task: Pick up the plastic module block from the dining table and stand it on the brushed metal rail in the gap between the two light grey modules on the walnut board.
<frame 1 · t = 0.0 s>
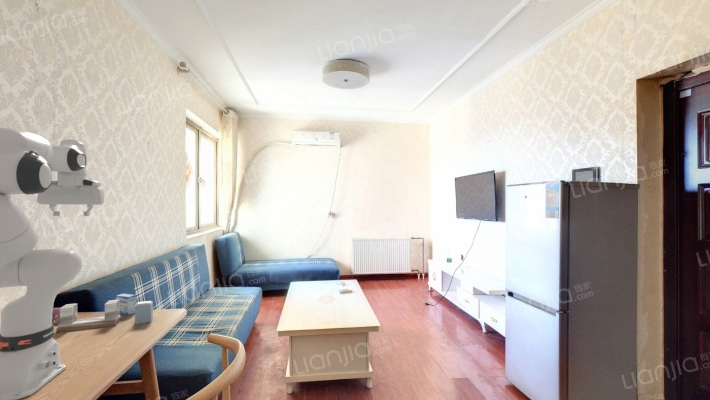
hand: (71, 215, 125), 48 cm above the table, tool pointing down, fingers open, 8 cm apart
video game controller: (53, 322, 138), on the table
medicine box: (126, 313, 151), on the table
module block: (143, 321, 141), on the table
rail mount: (90, 325, 136), on the table
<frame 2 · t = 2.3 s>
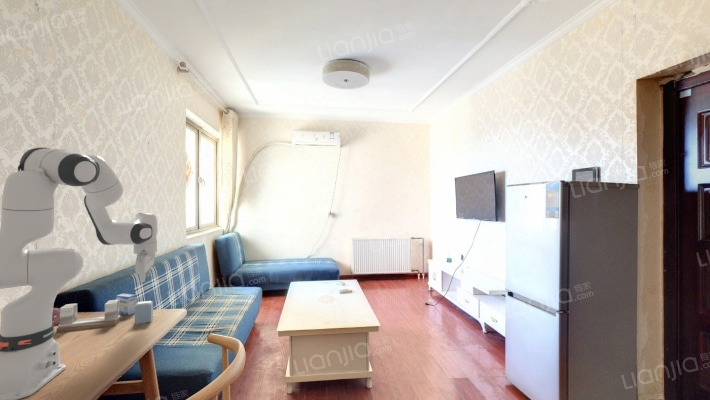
hand: (144, 279, 141), 19 cm above the table, tool pointing down, fingers open, 8 cm apart
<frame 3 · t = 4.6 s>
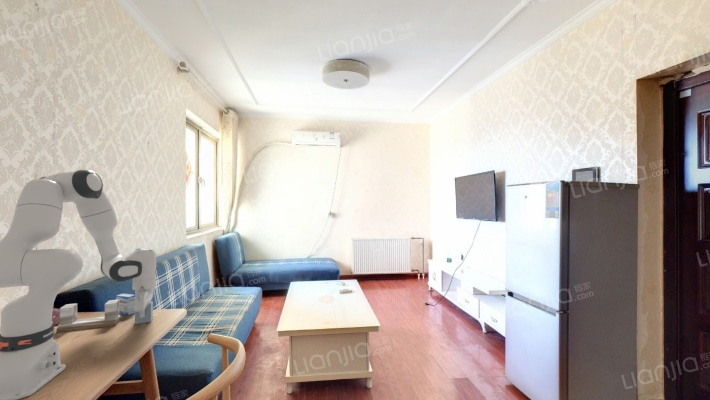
hand: (143, 314, 141), 3 cm above the table, tool pointing down, fingers closed on module block, 4 cm apart
module block: (143, 321, 141), on the table, touching gripper
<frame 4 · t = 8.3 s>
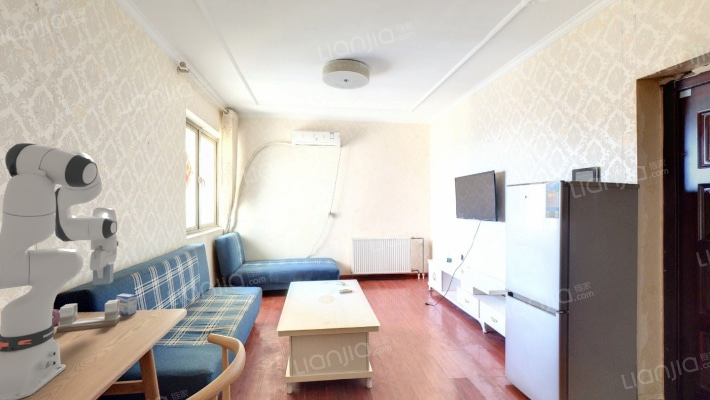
hand: (103, 276, 137), 21 cm above the table, tool pointing down, fingers closed on module block, 4 cm apart
module block: (103, 282, 137), point 18 cm above the table, touching gripper
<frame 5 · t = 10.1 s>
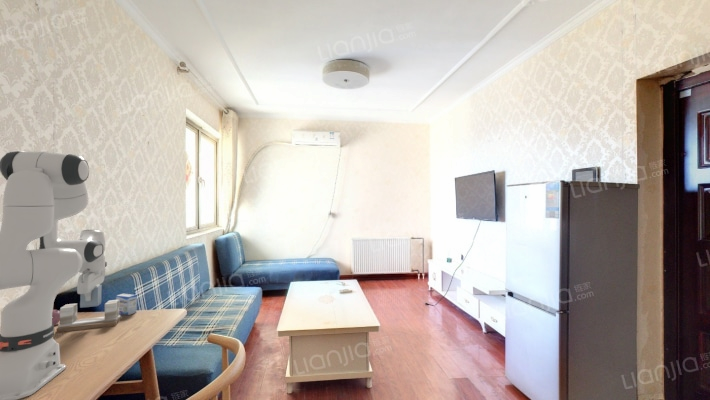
hand: (91, 298, 136), 12 cm above the table, tool pointing down, fingers closed on module block, 4 cm apart
module block: (90, 305, 136), point 9 cm above the table, touching gripper
when the fingers open (7 cm above the table, at t = 11.8 s): module block drops 1 cm, resting on rail mount.
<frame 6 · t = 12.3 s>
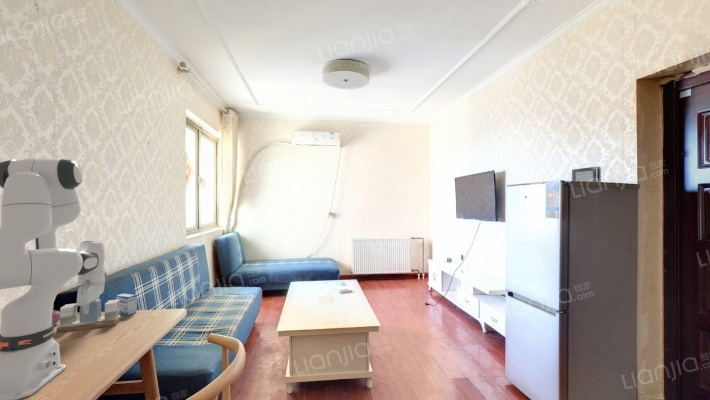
hand: (90, 309, 136), 7 cm above the table, tool pointing down, fingers open, 8 cm apart
module block: (90, 319, 135), point 2 cm above the table, touching rail mount
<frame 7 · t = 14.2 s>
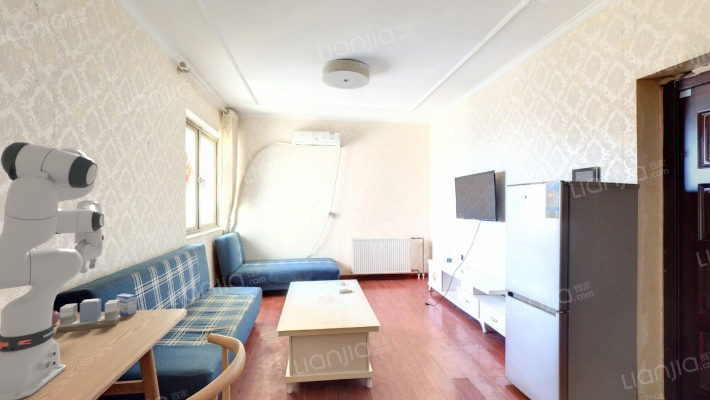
hand: (87, 270, 134), 24 cm above the table, tool pointing down, fingers open, 8 cm apart
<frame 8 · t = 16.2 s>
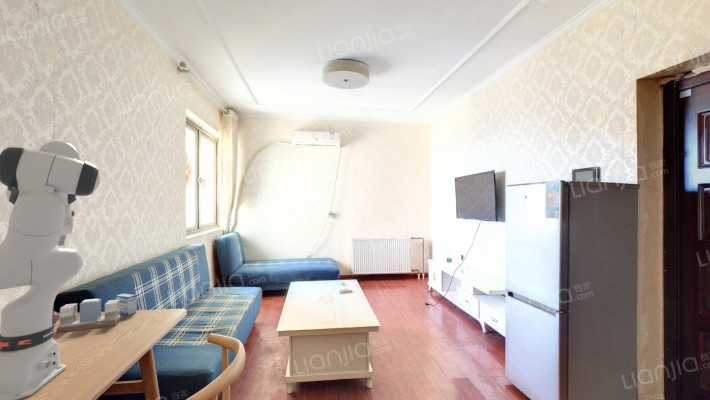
hand: (55, 247, 126), 35 cm above the table, tool pointing down, fingers open, 8 cm apart
at the end: module block 0.1 cm off-centre on the rail mount, point 2.3 cm above the rail mount's base; module block tilted 0°; the gripper is holding nothing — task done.
